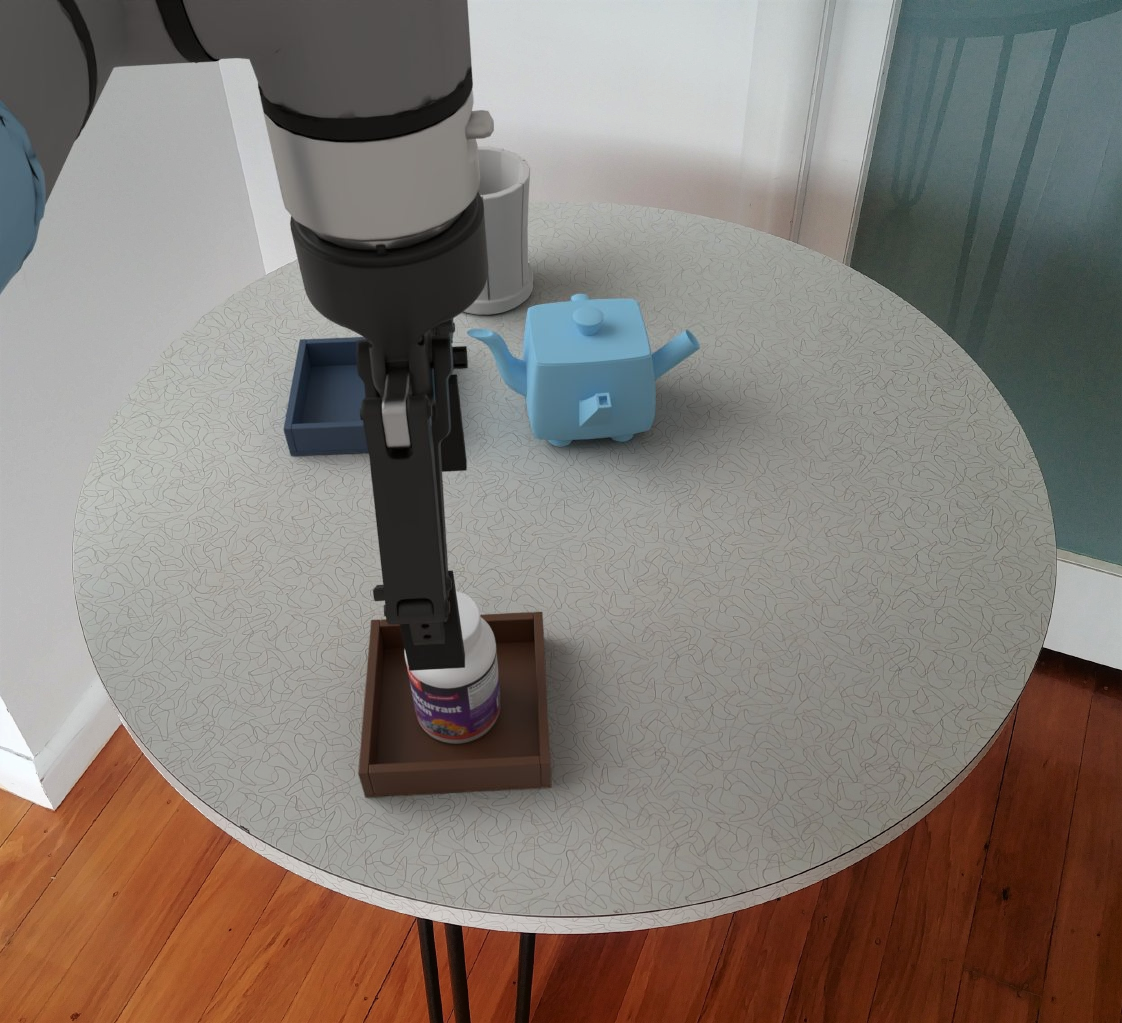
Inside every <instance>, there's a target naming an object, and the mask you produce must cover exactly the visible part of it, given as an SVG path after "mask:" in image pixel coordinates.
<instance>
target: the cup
mask: <svg viewBox="0 0 1122 1023" xmlns="http://www.w3.org/2000/svg"><path fill="white" fill-rule="evenodd" d="M477 146H478V145H477ZM478 157H479V170H480V185H479V190H478V193H479V194H480V196H481V198H482V201H483V205H484V216H485V229H486V242H487V254H488V267H489V269H488V277H487V281H486V284H485V287H484V289H483V291H482V292H481V294H480V295H479V297H478V298H477V299H476V301H475V302H474V303H473V304H472V305H471V306H470V307H468V308H467V309H466V310H465V311H463V312H462V313H466V314H472V315H476V316H477V315H478V316H479V315H480V316H481V315H482V316H483V315H484V316H485V315H486V316H492V315H497V314H501V313H502V314H503V313H505V312H509V311H510V310H513V309H515V308H517V307H518V306H520V305H521V304H522V303H524V302H526V300H528V299H529V297H530V296H531V294H532V292H533V291H534V270H533V268H532V266H531V265H530V262H529V236H528V235H529V232H528V231H529V229H528V227H529V198H530V182H531V181H530V180H531V167H530V165H529V164H528V162H527V161H526V159H525V158H523V157H522V156H521V155H519V154H518V153H516V152H514V151H511V150H509V149H506V148H501V147H495V146H490V145H489V146H487V145H485V146H484V145H483V146H481V145H479V146H478Z"/></svg>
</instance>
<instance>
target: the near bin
mask: <svg viewBox="0 0 1122 1023" xmlns="http://www.w3.org/2000/svg"><path fill="white" fill-rule="evenodd" d="M480 616H481V618H483V619H484V620H485V621H486V622H487V623H488V625H489V626H490V628H491V629H492V632H493V634H494V637H495V642H496V650H497V663H498V674H499V687H500V712H499V715H498V718H497V720H496V722H495V724H494V725H493V726H492V728H491V729H490V730H489V731H488V732H487V733H485V734H484V735H483V736H481V737H480V738H478V739H476V740H473V741H470V742H467V743H461V744H452V743H445V742H442V741H439V740H437V739H435V738H433V737H431V736H430V735H429V734H428V733H426V732H425V730H424V729H423V728H422V727H421V725H420V723H419V721H418V719H417V715H416V712H415V707H414V701H413V696H412V691H411V685H410V680H409V675H408V669H407V664H406V660H405V648H404V643H403V639H402V634H401V629H400V624H394V625H389V624H388V622H386V618H383V619H382V618H381V619H371V620H370V629H369V641H368V651H367V664H366V676H365V686H364V698H363V699H364V700H363V702H364V703H363V712H362V723H361V724H362V725H361V735H360V736H361V737H360V746H359V747H360V748H359V758H358V759H359V760H358V769H357V770H358V772H357V775H358V778H359V782H360V784H361V787H362V791H363V795H364V798H365V799H367V798H387V797H388V798H389V797H403V796H421V795H443V794H460V793H463V794H464V793H479V792H498V791H516V790H534V789H551V788H552V770H551V769H552V764H551V763H552V762H551V745H550V742H551V741H550V724H549V709H548V707H549V706H548V705H549V704H548V688H547V671H546V670H547V669H546V652H545V651H546V649H545V636H544V635H545V634H544V633H545V632H544V631H545V630H544V615H543V611H526V612H509V613H508V612H504V613H485V614H484V613H483V614H480Z"/></svg>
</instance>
